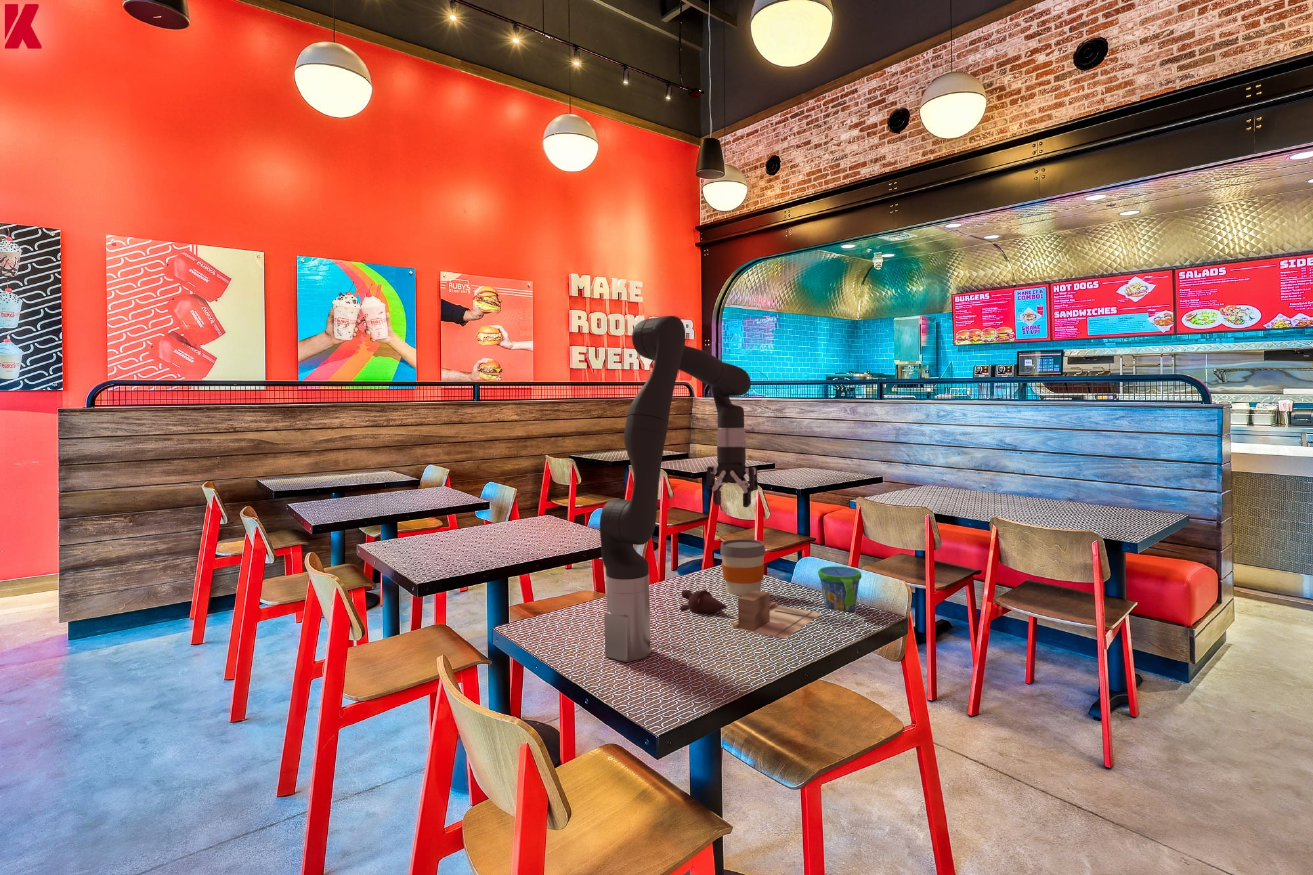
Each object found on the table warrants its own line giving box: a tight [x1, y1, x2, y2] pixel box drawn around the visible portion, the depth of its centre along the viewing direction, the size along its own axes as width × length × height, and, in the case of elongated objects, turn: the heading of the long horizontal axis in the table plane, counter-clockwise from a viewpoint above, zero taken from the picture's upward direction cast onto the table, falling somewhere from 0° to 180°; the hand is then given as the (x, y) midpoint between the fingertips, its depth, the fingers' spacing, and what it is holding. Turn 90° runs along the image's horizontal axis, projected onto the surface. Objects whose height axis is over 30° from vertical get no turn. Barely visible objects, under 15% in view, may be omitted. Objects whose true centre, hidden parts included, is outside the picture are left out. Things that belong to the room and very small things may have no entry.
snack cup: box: [817, 565, 862, 614], centre depth 163 cm, size 16×10×10 cm
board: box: [730, 601, 823, 640], centre depth 152 cm, size 21×14×2 cm, turn 143°
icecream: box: [679, 589, 727, 615], centre depth 160 cm, size 7×7×15 cm
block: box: [737, 590, 770, 631], centre depth 149 cm, size 9×4×7 cm, turn 143°
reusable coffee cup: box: [720, 538, 766, 597], centre depth 177 cm, size 13×13×15 cm
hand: (731, 505), depth 168 cm, fingers open, 8 cm apart
